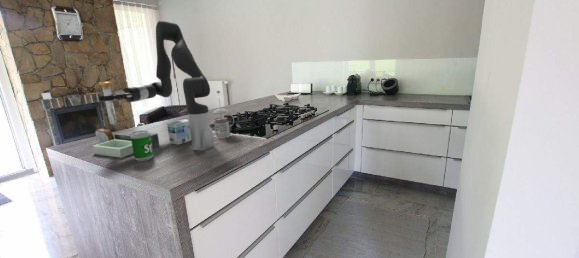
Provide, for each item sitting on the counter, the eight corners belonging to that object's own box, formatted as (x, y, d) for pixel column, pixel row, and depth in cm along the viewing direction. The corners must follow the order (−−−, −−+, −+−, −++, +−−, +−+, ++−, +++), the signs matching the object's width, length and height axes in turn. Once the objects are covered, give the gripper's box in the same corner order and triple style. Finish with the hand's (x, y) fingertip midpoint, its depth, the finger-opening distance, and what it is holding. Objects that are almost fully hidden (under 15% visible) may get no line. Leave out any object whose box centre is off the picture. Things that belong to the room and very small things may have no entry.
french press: (215, 134, 156) (210, 90, 150) (235, 132, 158) (231, 88, 151) (212, 139, 147) (207, 92, 141) (234, 137, 148) (230, 90, 142)
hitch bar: (159, 145, 140) (157, 133, 138) (147, 149, 134) (145, 137, 132) (128, 141, 148) (126, 130, 147) (116, 145, 142) (114, 134, 140)
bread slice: (116, 146, 141) (113, 130, 139) (109, 147, 139) (106, 131, 137) (102, 142, 149) (99, 127, 147) (96, 143, 147) (92, 128, 145)
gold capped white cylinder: (121, 122, 130) (113, 81, 125) (112, 124, 125) (103, 82, 121) (114, 122, 131) (106, 81, 127) (105, 124, 127) (96, 82, 122)
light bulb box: (178, 145, 139) (175, 124, 136) (169, 143, 142) (166, 123, 139) (194, 139, 148) (192, 119, 145) (186, 138, 151) (183, 118, 148)
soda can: (141, 163, 115) (136, 135, 112) (131, 160, 119) (126, 133, 116) (157, 157, 122) (153, 131, 119) (147, 154, 126) (143, 129, 123)
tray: (142, 149, 133) (140, 142, 132) (121, 157, 123) (119, 149, 122) (116, 146, 140) (114, 139, 139) (94, 153, 130) (92, 145, 129)
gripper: (124, 86, 140) (89, 90, 124) (144, 86, 135) (110, 90, 119) (127, 100, 142) (93, 106, 126) (147, 101, 136) (114, 107, 121)
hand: (102, 98), depth 123 cm, fingers closed on gold capped white cylinder, 2 cm apart
